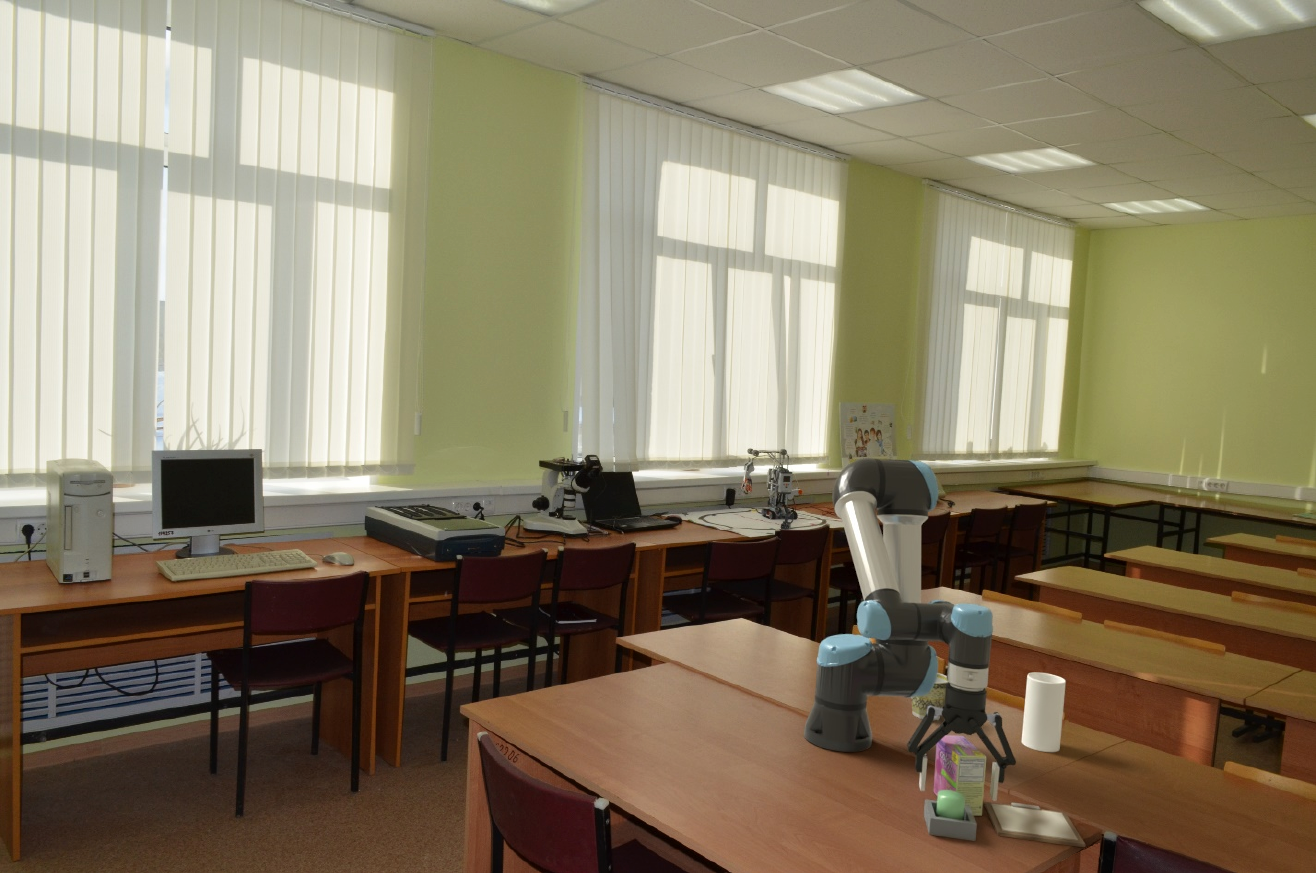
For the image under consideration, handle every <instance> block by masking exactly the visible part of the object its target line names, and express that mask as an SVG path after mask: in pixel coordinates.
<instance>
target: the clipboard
mask: <svg viewBox="0 0 1316 873" xmlns="http://www.w3.org/2000/svg"><path fill="white" fill-rule="evenodd" d="M983 803H984V807H985V810H986V812H987V813H988V816H989V819H990V822H991V824H992V826H993V828H994V830H995V832H996V835H997V836H1000V837H1006V838H1015V839H1021V840H1029V841H1034V842H1035V841H1036V842H1043V843H1050V844H1058V845H1064V846H1072V847H1080V848H1086V843H1085V841H1084V840H1083V837H1081V835H1080V833H1079V832H1078V830H1077V828H1076V827H1075V825H1074V823H1073V822H1072V820H1071V819H1070V817H1069V815H1068V813H1067V812H1064V811H1057V810H1050V809H1043V808H1040V806H1039V805H1033V804H1026V803H1020V802H1019V803H1018V802H1011V804H1004V803H997V802H991V801H983Z"/></svg>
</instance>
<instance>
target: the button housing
mask: <svg viewBox="0 0 1316 873" xmlns="http://www.w3.org/2000/svg"><path fill="white" fill-rule="evenodd" d="M923 806H924V807H923V808H924V809H923V817H924V820H925V825H926V829H927V833H928V835H930V836H937V837H938V836H939V837H945V838H952V839H960V840H966V841H975V842H976V838H977V828H978V827H977V826H978V824H977V821H976V820H975V816H973V814H972V811H971V809H970V806H969V805H965V808H964V819H963V820H958V819H950V818H943V817H936V810H937V800H932V799H924V805H923Z"/></svg>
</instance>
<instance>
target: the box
mask: <svg viewBox="0 0 1316 873" xmlns="http://www.w3.org/2000/svg"><path fill="white" fill-rule="evenodd" d="M935 747H936V748H935V762H934V764H935V765H934V778H933V779H934V780H933V793H934V794H935V795H936V797H937V798H938V792H939V791H941V790H952V791H956V792H959V793H961V794H962V795H964V796H965V805H969V806H970V809H971V811H972V814H973V816H974V817H976V816H979V817H981V816H983V803H984V790H985V779H986V767H987V766H986V765H987V764H986V763H987V755H985V754H984V752H982V751H981V750H980V749H979V748H977V747H976V746H975V744H973V743H972V742H971V741H970V740H969V739H968V738H966V737H965V736H964V735H953V734H951V735H950V734H948V735H945V736H944V737H943V738H942V739H941V740H940V741H939V742H938V743H937V744H936V745H935Z"/></svg>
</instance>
